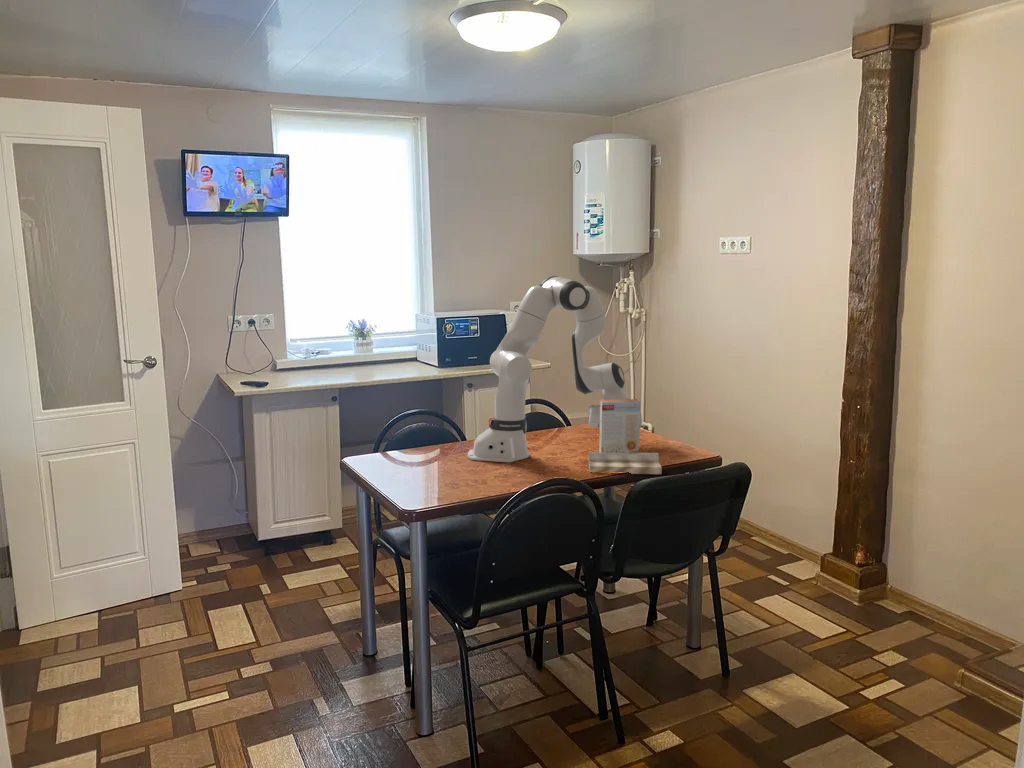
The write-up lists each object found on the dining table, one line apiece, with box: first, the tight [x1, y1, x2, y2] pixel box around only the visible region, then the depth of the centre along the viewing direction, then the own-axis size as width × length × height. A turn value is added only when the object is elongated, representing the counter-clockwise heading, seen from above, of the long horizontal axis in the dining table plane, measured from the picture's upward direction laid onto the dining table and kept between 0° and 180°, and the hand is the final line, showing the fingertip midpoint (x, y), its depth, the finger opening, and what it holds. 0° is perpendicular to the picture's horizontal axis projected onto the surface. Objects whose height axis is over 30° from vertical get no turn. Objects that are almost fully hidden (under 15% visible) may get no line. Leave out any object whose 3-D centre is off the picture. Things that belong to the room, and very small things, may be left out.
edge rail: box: [588, 451, 660, 463], centre depth 270 cm, size 24×2×5 cm, turn 88°
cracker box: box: [598, 398, 641, 453], centre depth 283 cm, size 14×6×21 cm, turn 92°
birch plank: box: [588, 460, 663, 475], centre depth 265 cm, size 24×7×2 cm, turn 88°
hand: (616, 435), depth 293 cm, fingers closed
